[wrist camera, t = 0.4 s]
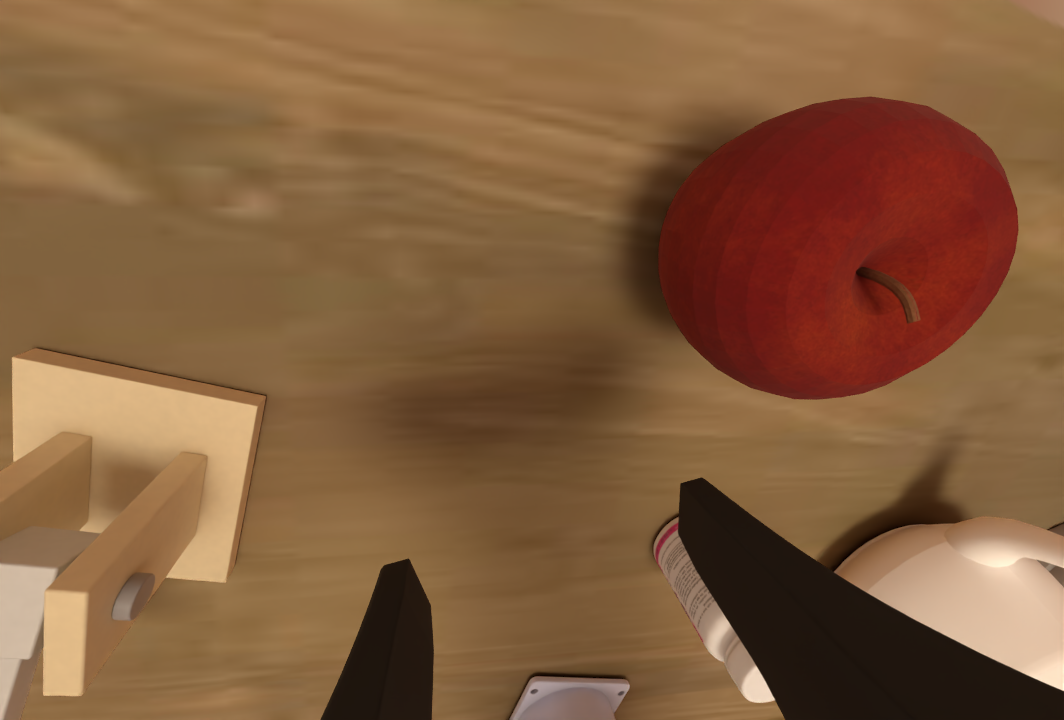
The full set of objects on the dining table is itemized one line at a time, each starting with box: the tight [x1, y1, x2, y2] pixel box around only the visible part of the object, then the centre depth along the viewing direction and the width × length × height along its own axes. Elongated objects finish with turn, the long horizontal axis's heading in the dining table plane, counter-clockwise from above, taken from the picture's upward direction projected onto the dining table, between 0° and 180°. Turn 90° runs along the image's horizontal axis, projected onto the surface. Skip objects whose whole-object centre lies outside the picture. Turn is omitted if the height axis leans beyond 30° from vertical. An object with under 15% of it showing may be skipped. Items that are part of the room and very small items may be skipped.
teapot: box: [834, 517, 1064, 691], centre depth 27 cm, size 25×16×12 cm, turn 179°
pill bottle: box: [653, 517, 775, 703], centre depth 23 cm, size 5×5×8 cm
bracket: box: [0, 348, 266, 696], centre depth 15 cm, size 10×8×8 cm
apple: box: [658, 97, 1018, 399], centre depth 15 cm, size 10×10×10 cm
